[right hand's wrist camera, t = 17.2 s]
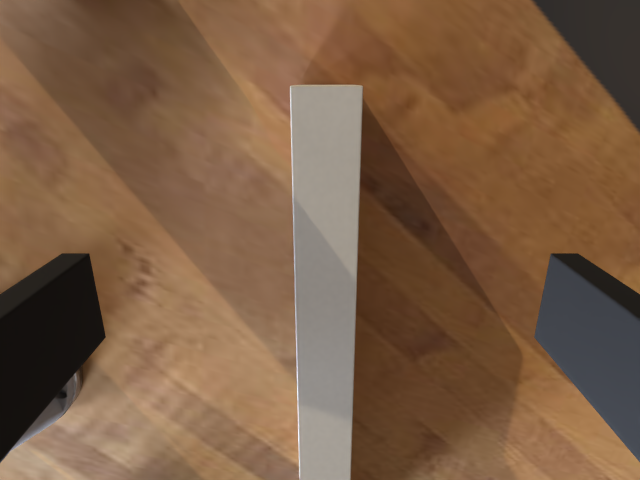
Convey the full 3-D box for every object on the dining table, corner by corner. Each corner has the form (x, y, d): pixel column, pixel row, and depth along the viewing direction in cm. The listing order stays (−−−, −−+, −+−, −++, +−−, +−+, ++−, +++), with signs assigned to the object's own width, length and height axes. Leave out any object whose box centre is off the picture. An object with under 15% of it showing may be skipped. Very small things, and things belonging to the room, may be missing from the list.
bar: (297, 84, 37) (289, 85, 29) (355, 84, 37) (363, 85, 29) (305, 524, 56) (302, 596, 48) (344, 524, 56) (346, 597, 48)
